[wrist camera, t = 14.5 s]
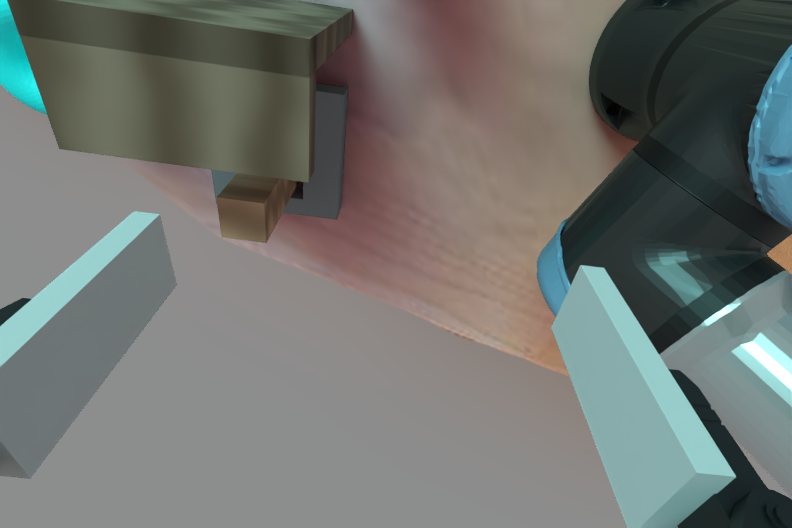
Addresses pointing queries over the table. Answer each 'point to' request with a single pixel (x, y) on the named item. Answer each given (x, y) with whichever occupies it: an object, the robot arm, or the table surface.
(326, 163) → the socket
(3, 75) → the donuts
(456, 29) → the table surface
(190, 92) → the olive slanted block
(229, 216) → the peg
